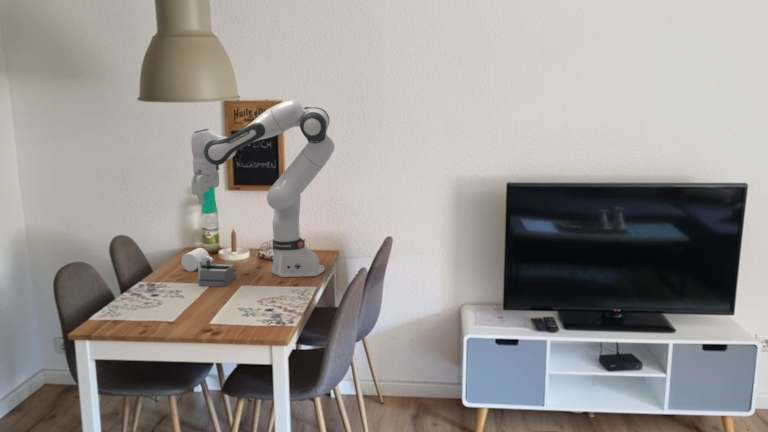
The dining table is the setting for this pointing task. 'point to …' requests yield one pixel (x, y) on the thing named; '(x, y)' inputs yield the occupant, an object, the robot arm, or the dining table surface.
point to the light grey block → (203, 265)
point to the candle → (209, 202)
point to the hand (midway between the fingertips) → (206, 201)
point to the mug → (194, 259)
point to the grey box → (217, 275)
